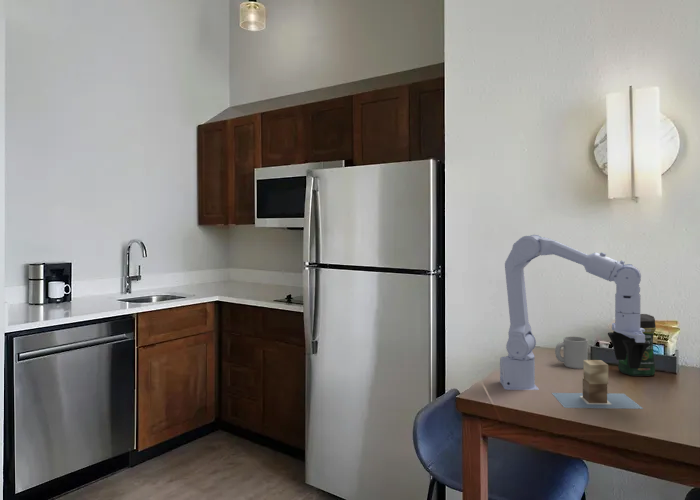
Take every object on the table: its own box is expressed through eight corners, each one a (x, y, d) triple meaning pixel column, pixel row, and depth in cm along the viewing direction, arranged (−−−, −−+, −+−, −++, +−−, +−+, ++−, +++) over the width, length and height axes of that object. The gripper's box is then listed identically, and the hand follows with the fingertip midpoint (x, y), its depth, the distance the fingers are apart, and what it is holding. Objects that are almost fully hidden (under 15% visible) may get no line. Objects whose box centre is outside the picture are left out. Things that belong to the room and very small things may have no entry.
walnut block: (589, 402, 129) (589, 383, 129) (582, 396, 134) (582, 378, 134) (607, 403, 129) (607, 384, 129) (600, 397, 133) (600, 378, 133)
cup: (590, 369, 160) (590, 341, 160) (558, 368, 162) (558, 341, 161) (583, 362, 168) (583, 336, 167) (552, 362, 169) (552, 336, 168)
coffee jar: (627, 377, 151) (627, 316, 150) (614, 369, 159) (614, 311, 158) (660, 377, 151) (660, 316, 150) (646, 369, 159) (646, 311, 158)
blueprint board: (564, 409, 127) (564, 407, 127) (551, 394, 138) (551, 392, 138) (643, 410, 125) (643, 408, 125) (623, 395, 136) (623, 393, 136)
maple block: (590, 383, 129) (590, 364, 129) (583, 378, 133) (583, 360, 133) (608, 384, 129) (608, 364, 128) (601, 378, 133) (601, 360, 133)
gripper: (658, 317, 122) (657, 372, 122) (631, 306, 136) (630, 356, 137) (627, 317, 122) (627, 371, 123) (603, 307, 137) (603, 356, 137)
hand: (627, 363), depth 130 cm, fingers open, 7 cm apart
